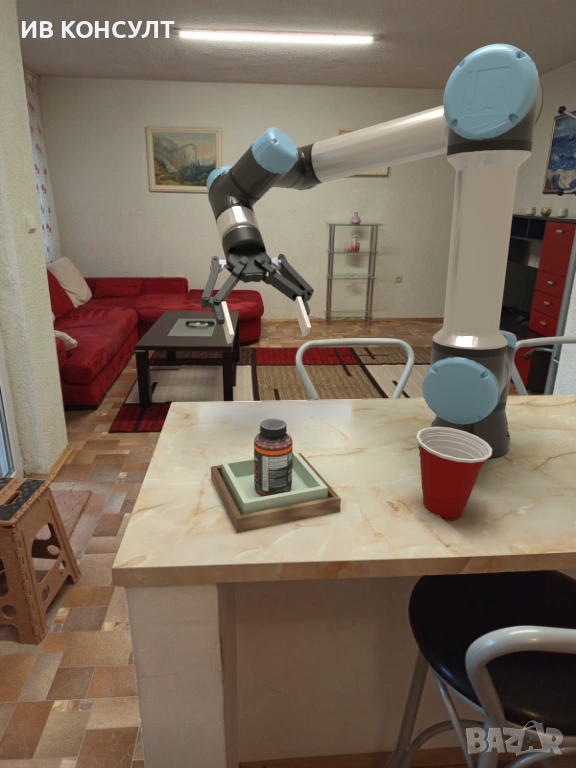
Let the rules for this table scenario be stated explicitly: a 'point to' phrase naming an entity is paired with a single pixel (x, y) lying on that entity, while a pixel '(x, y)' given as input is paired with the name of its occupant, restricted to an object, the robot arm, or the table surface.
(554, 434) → the table surface
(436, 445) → the plastic cup
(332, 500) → the walnut crate
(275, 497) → the grey-green crate
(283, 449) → the supplement bottle
